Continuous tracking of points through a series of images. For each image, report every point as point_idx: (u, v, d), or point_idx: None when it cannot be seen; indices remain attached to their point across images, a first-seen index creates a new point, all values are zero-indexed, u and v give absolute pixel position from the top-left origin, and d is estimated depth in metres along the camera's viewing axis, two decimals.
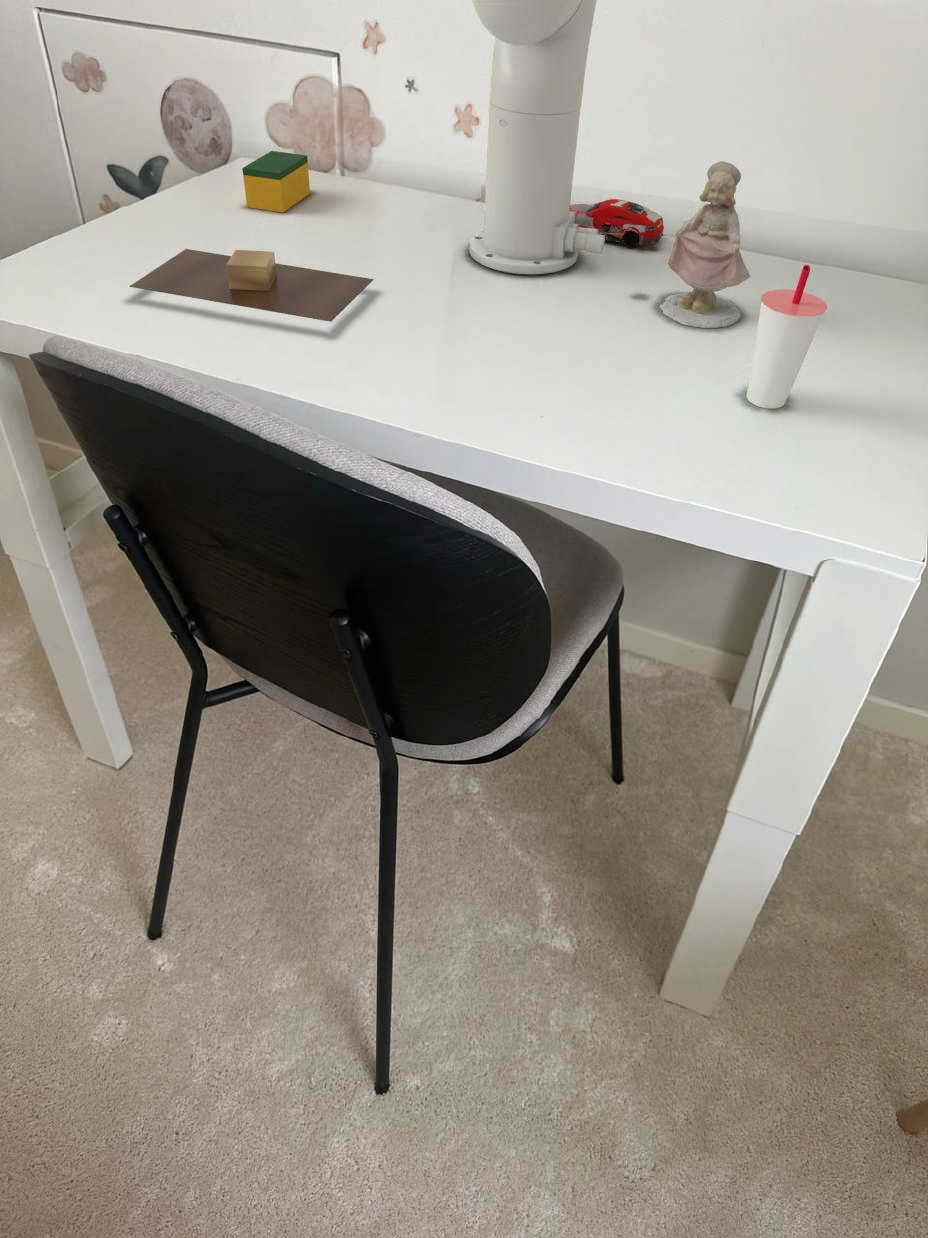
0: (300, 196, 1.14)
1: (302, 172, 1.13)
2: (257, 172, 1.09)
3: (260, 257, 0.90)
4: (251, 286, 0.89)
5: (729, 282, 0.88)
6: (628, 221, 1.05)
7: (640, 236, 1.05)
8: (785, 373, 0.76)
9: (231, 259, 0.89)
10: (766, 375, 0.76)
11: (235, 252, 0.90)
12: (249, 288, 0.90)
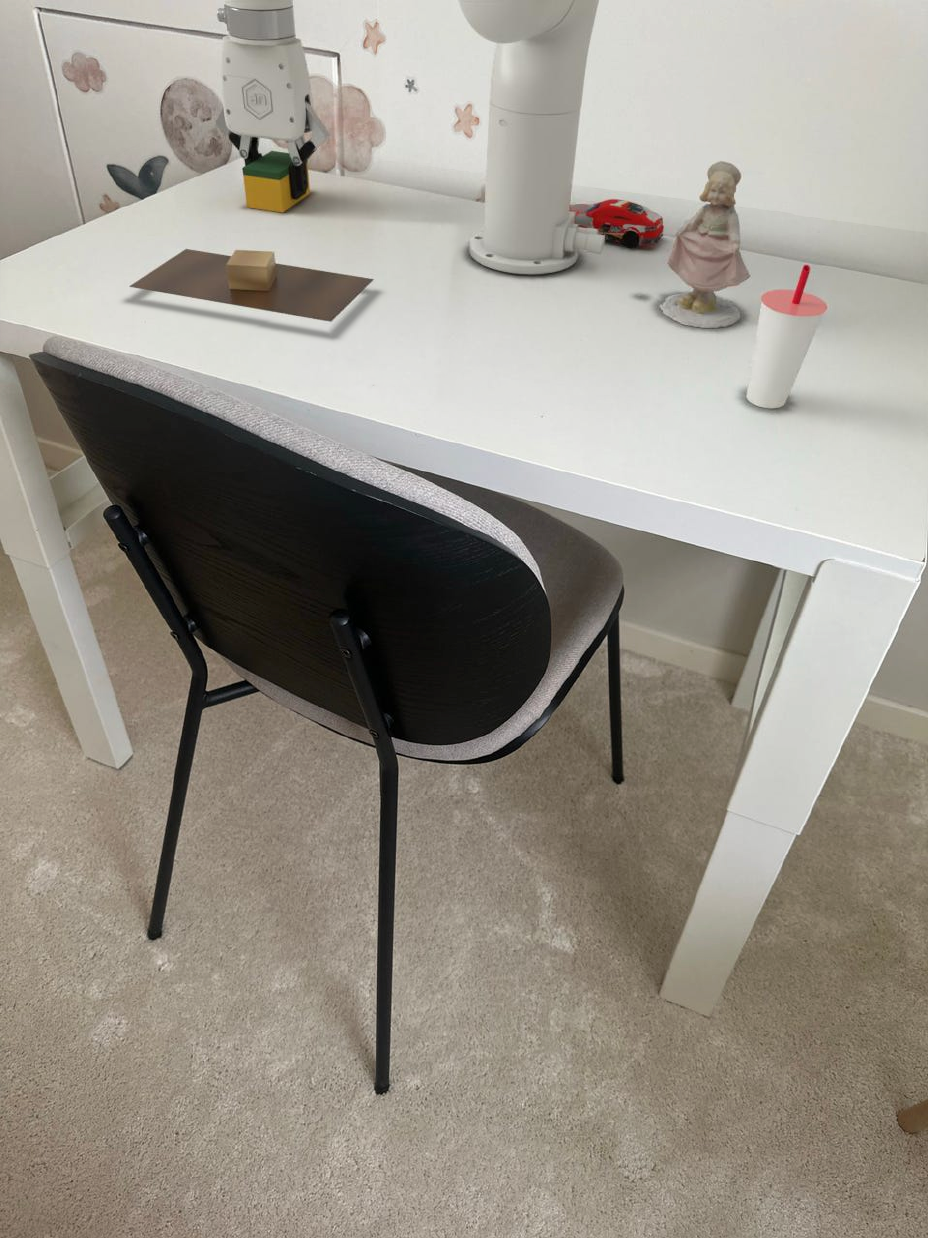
0: None
1: None
2: (257, 172, 1.09)
3: (260, 257, 0.90)
4: (251, 286, 0.89)
5: (729, 282, 0.88)
6: (628, 221, 1.04)
7: (640, 236, 1.05)
8: (785, 373, 0.76)
9: (231, 259, 0.89)
10: (766, 375, 0.76)
11: (235, 252, 0.90)
12: (249, 288, 0.90)
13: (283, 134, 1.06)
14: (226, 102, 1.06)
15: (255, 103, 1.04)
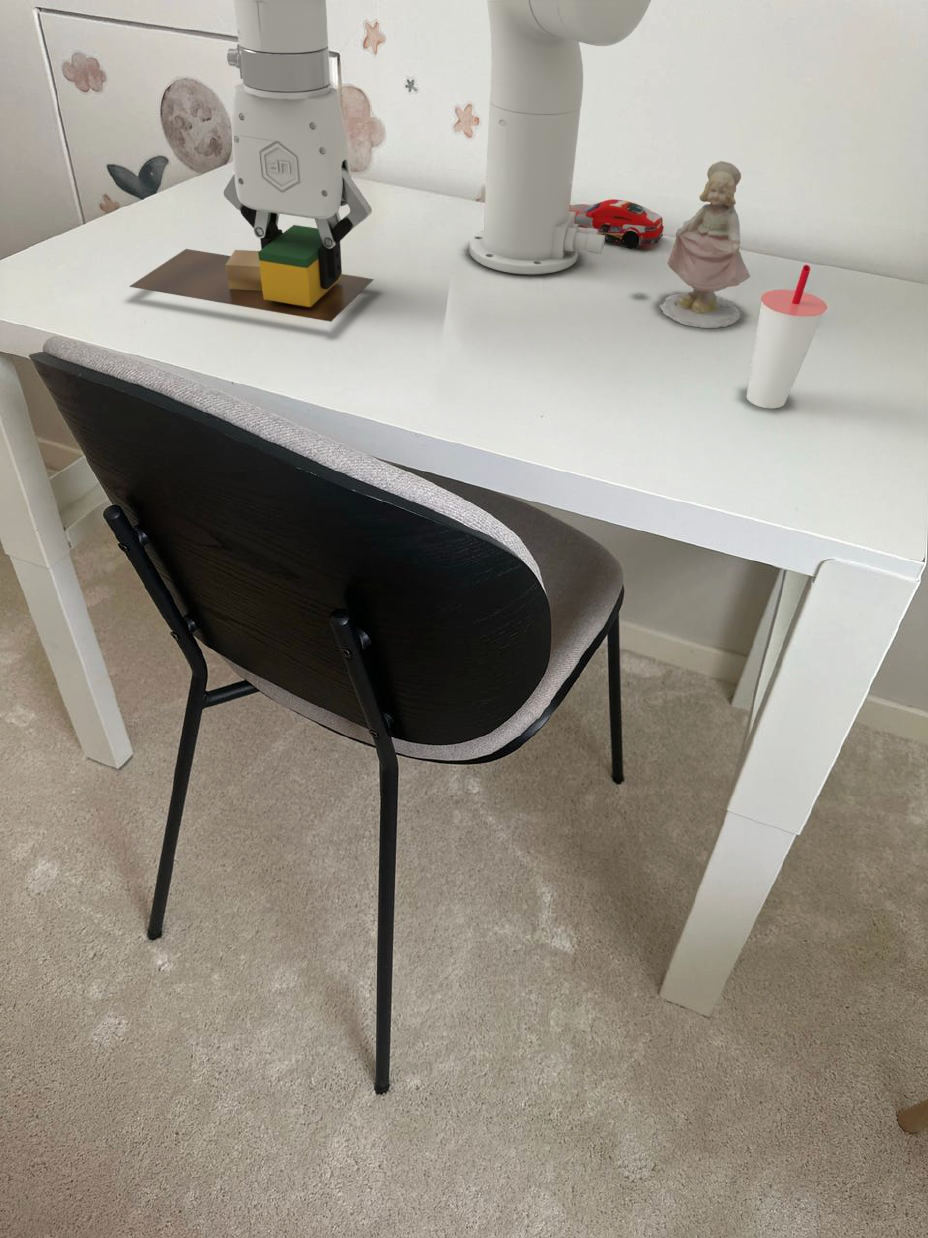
0: None
1: None
2: (278, 258, 0.84)
3: None
4: (250, 286, 0.89)
5: (729, 282, 0.88)
6: (628, 221, 1.04)
7: (640, 236, 1.05)
8: (785, 373, 0.76)
9: (230, 259, 0.89)
10: (766, 375, 0.76)
11: (234, 252, 0.90)
12: (248, 288, 0.90)
13: (313, 211, 0.81)
14: (238, 169, 0.81)
15: (276, 172, 0.80)
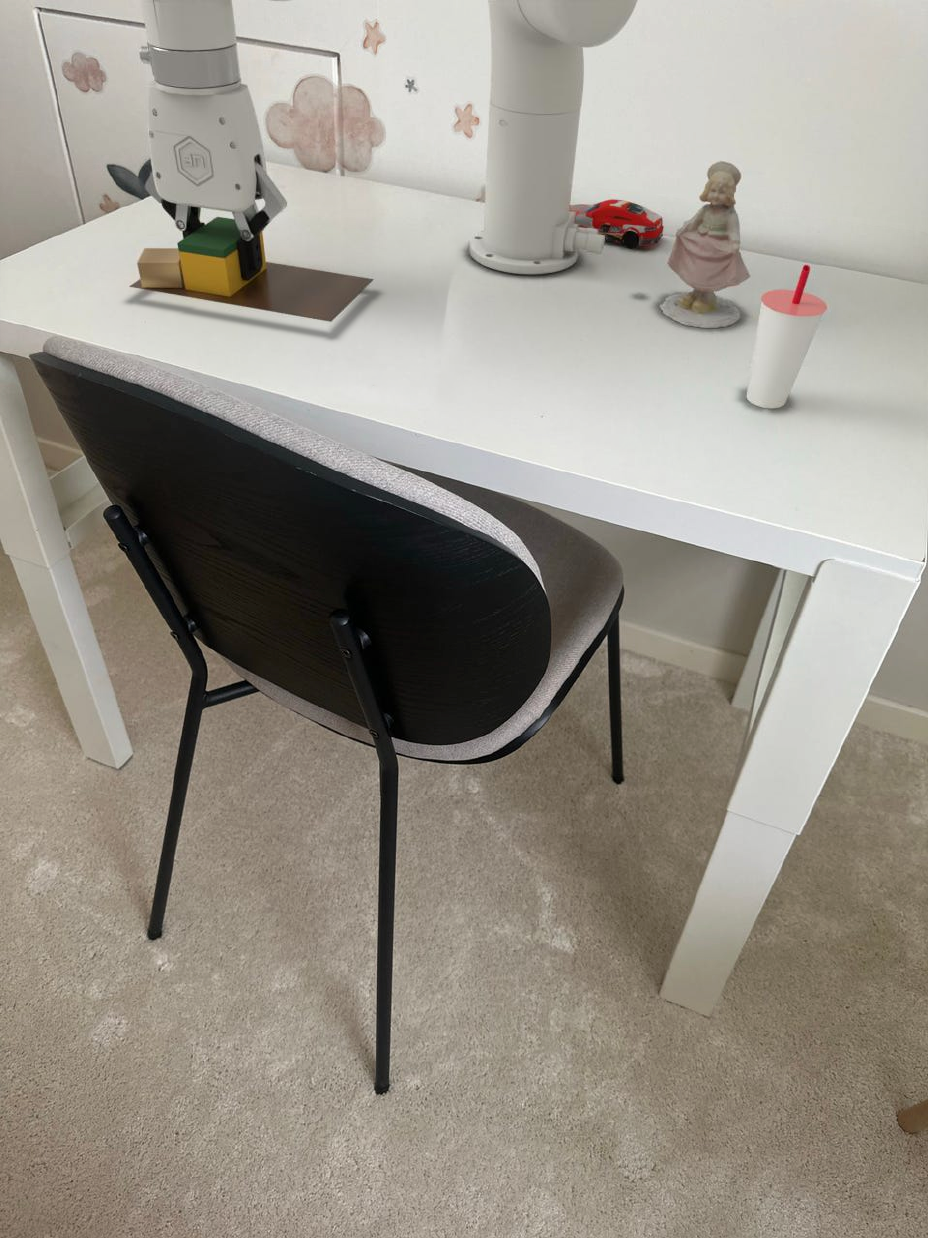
0: None
1: None
2: (196, 248, 0.86)
3: (171, 254, 0.89)
4: (164, 283, 0.89)
5: (729, 282, 0.88)
6: (628, 221, 1.04)
7: (640, 236, 1.05)
8: (785, 373, 0.76)
9: (141, 257, 0.89)
10: (766, 375, 0.76)
11: (145, 250, 0.90)
12: (162, 286, 0.89)
13: (228, 204, 0.83)
14: (155, 164, 0.83)
15: (191, 166, 0.82)
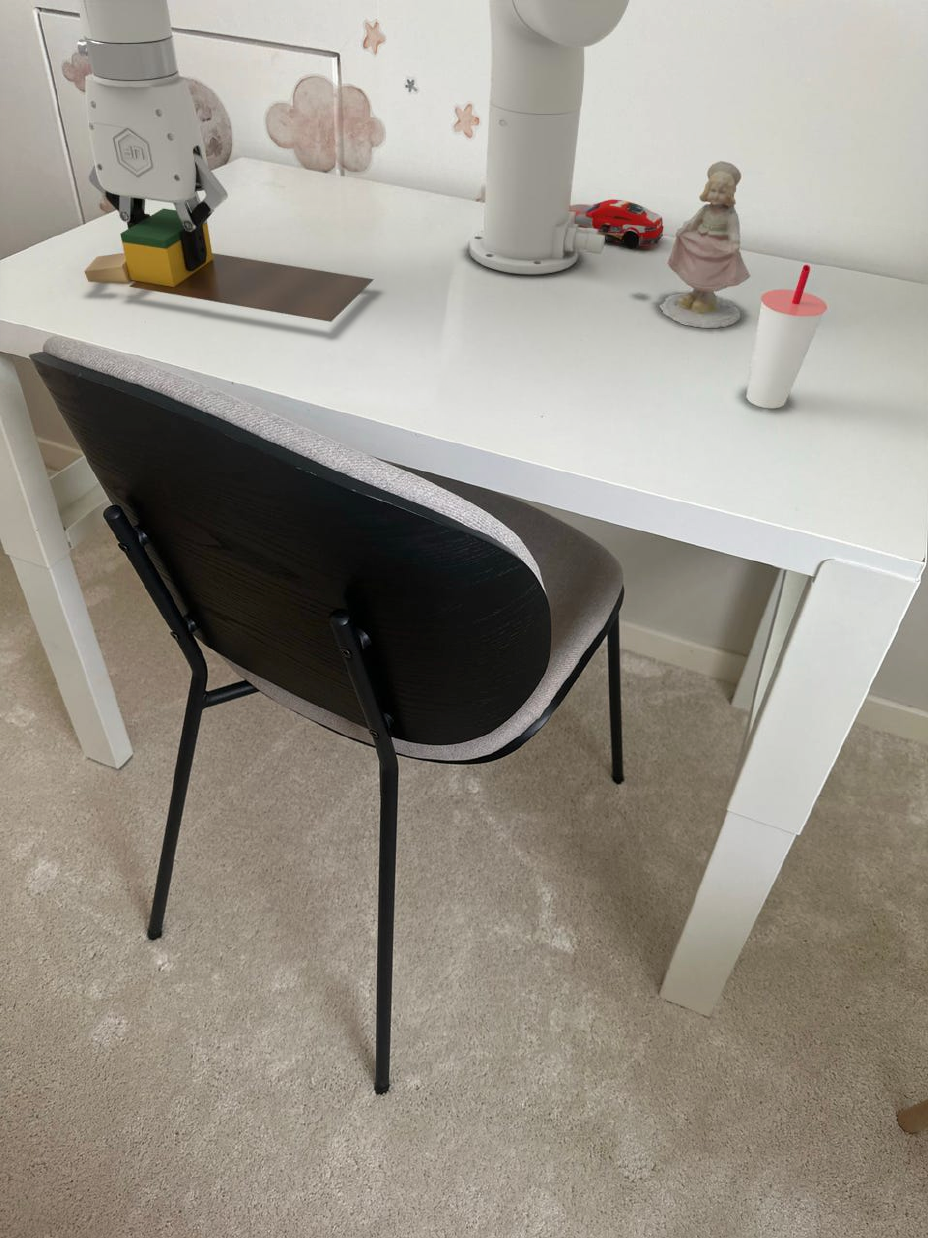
0: None
1: None
2: (138, 239, 0.87)
3: (118, 259, 0.91)
4: None
5: (729, 282, 0.88)
6: (628, 221, 1.04)
7: (640, 236, 1.05)
8: (785, 373, 0.76)
9: (90, 265, 0.90)
10: (766, 375, 0.76)
11: (96, 259, 0.92)
12: None
13: (168, 195, 0.85)
14: (96, 155, 0.84)
15: (131, 157, 0.83)
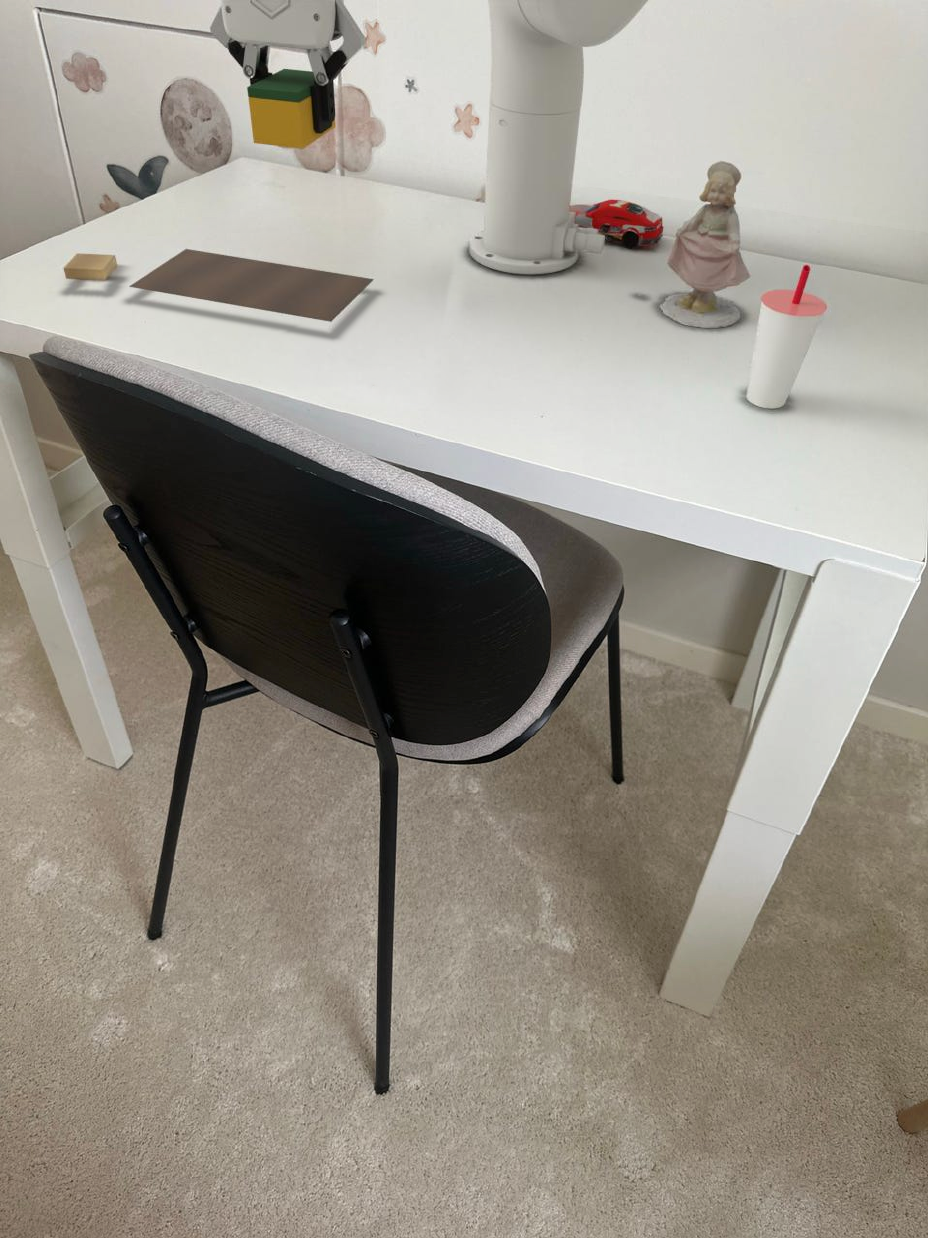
0: None
1: None
2: (268, 92, 0.80)
3: (99, 261, 0.91)
4: None
5: (729, 282, 0.88)
6: (627, 222, 1.04)
7: (639, 237, 1.05)
8: (785, 373, 0.76)
9: (70, 262, 0.91)
10: (766, 375, 0.76)
11: (76, 256, 0.92)
12: None
13: (304, 39, 0.77)
14: None
15: None
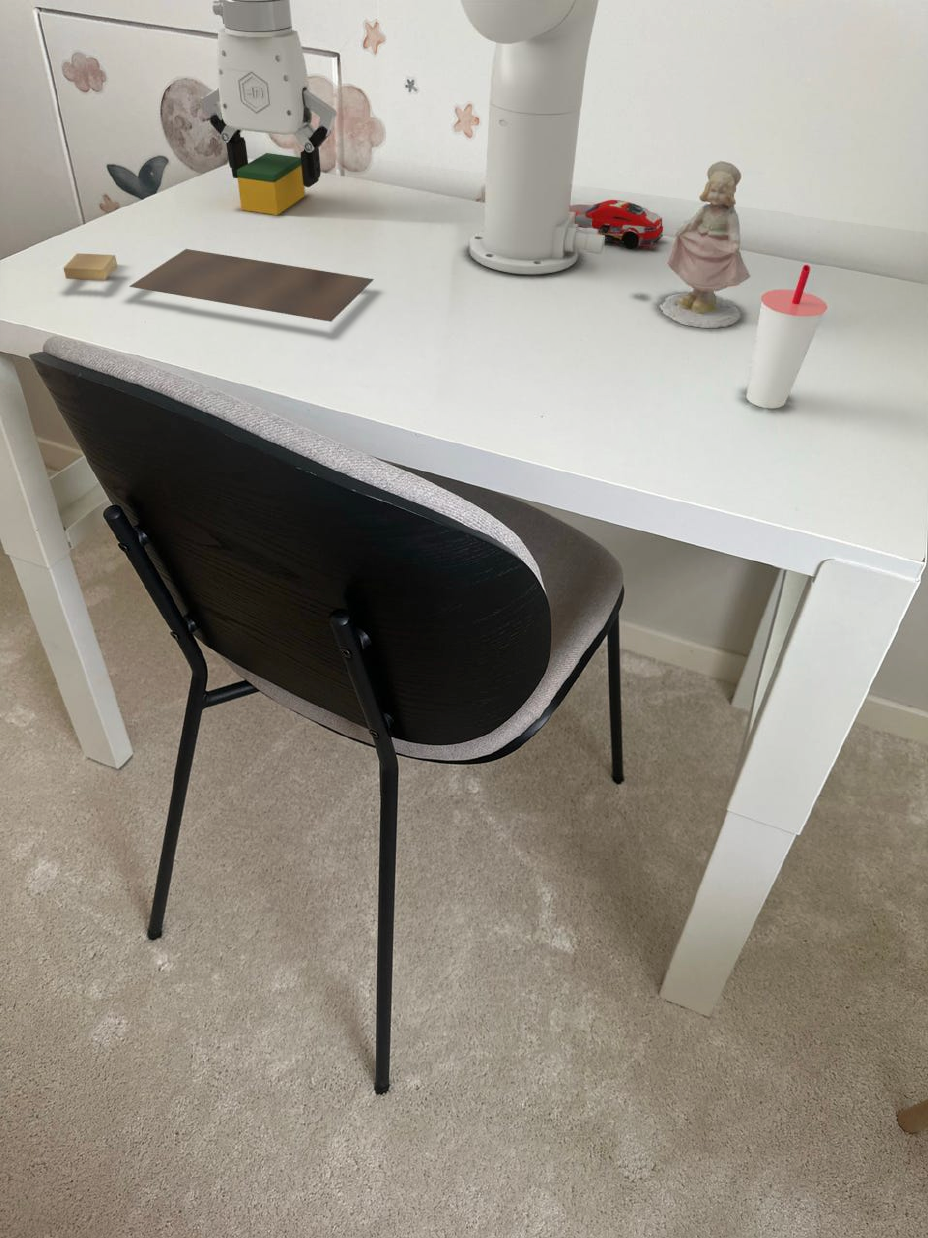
0: (295, 198, 1.13)
1: (297, 175, 1.13)
2: (251, 174, 1.08)
3: (99, 261, 0.91)
4: None
5: (729, 282, 0.88)
6: (627, 222, 1.04)
7: (639, 237, 1.04)
8: (785, 373, 0.76)
9: (70, 262, 0.91)
10: (766, 375, 0.76)
11: (76, 256, 0.92)
12: None
13: (281, 127, 1.04)
14: (223, 96, 1.04)
15: (252, 96, 1.03)
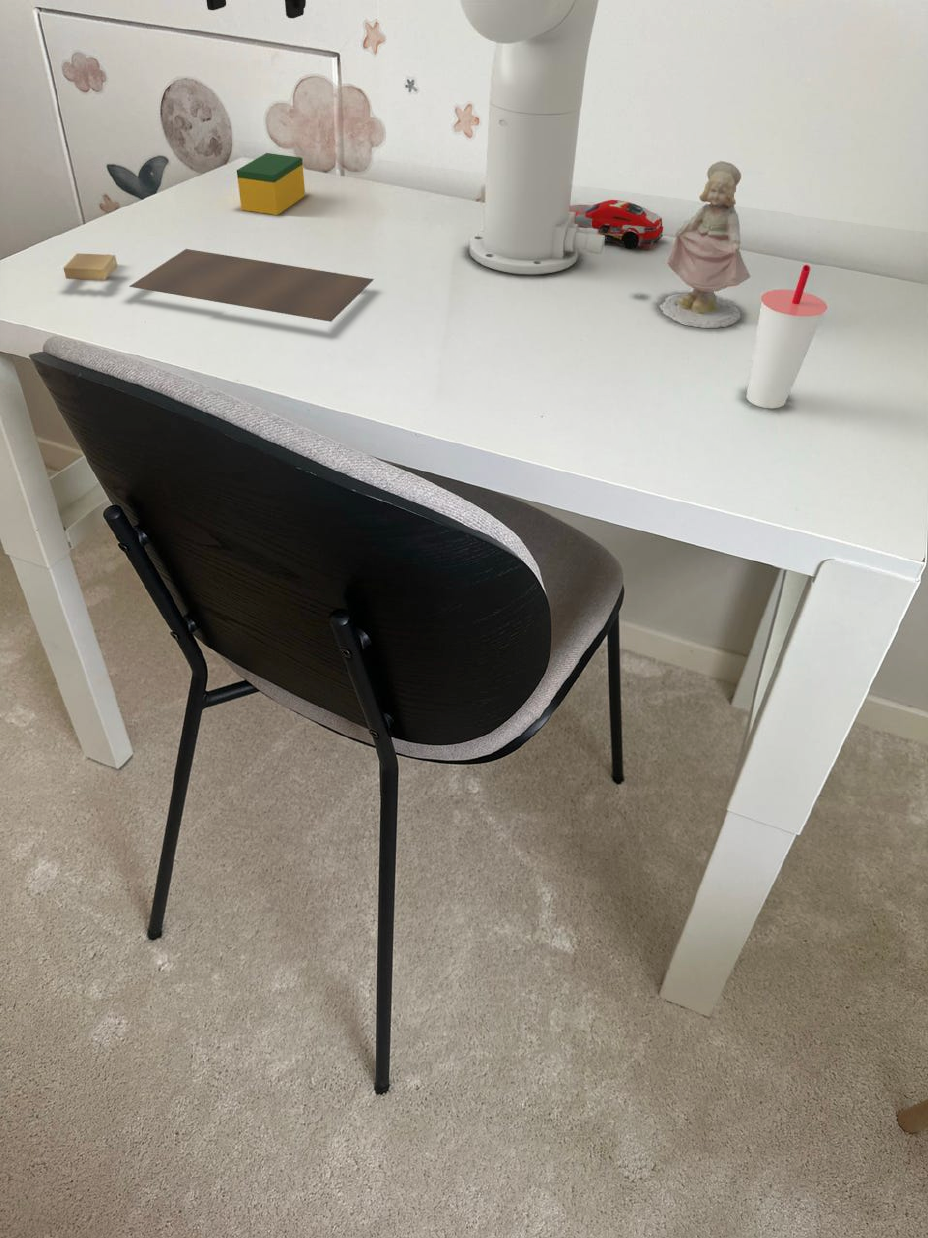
0: (295, 198, 1.13)
1: (297, 175, 1.13)
2: (251, 174, 1.08)
3: (99, 261, 0.91)
4: None
5: (729, 282, 0.88)
6: (627, 222, 1.04)
7: (639, 237, 1.04)
8: (785, 373, 0.76)
9: (70, 262, 0.91)
10: (766, 375, 0.76)
11: (76, 256, 0.92)
12: None
13: None
14: None
15: None
